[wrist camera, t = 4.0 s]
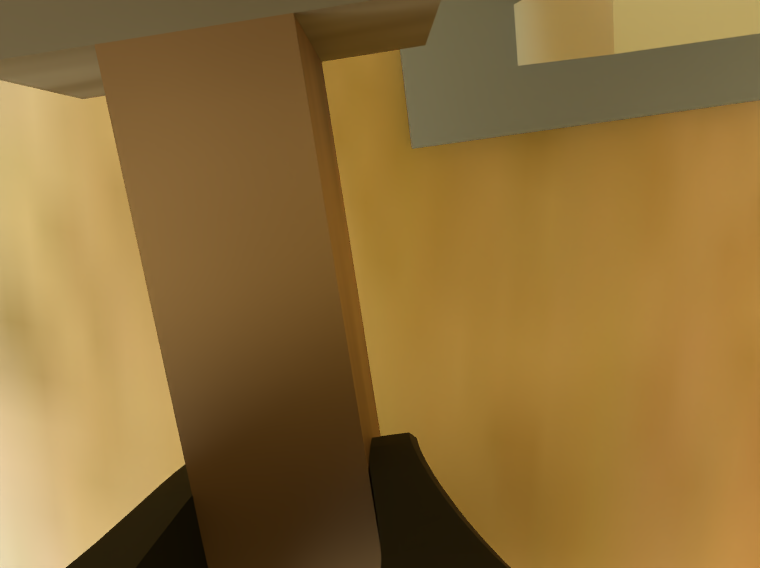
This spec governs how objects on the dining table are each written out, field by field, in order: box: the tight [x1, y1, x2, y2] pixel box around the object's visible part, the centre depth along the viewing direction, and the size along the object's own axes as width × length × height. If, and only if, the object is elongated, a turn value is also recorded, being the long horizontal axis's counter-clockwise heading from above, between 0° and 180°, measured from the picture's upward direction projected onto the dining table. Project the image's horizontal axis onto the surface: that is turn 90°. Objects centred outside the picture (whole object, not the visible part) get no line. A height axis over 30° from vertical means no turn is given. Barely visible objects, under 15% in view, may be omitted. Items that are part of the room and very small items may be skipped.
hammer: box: [0, 0, 441, 568], centre depth 10 cm, size 13×6×4 cm, turn 8°
